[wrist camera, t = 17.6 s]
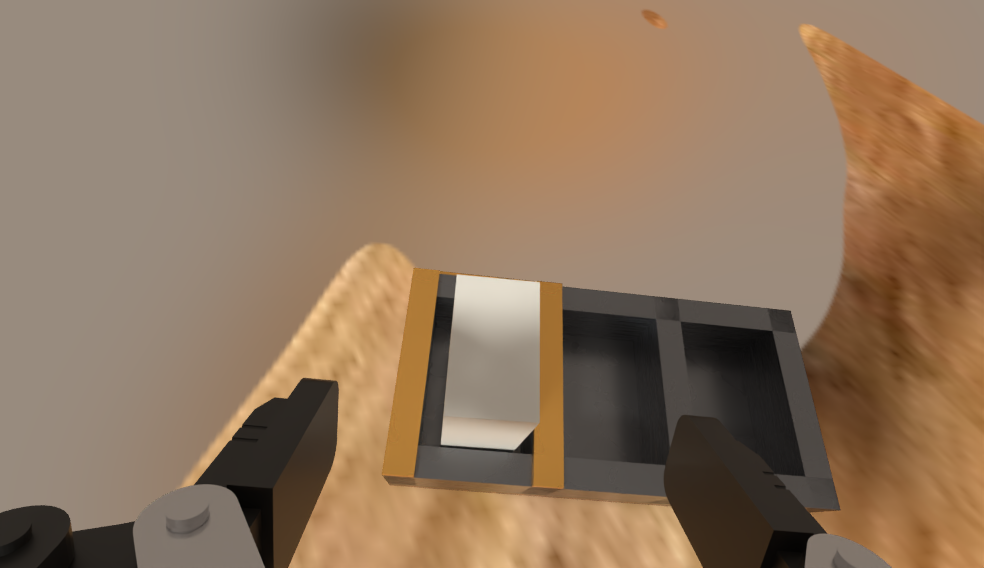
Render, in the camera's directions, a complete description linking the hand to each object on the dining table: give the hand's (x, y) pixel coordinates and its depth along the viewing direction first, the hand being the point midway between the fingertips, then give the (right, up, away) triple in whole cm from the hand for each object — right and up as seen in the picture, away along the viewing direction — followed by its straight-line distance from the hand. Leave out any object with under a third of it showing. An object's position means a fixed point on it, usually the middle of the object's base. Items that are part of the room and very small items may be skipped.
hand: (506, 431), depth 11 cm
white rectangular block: (-1, -2, +12) cm, 12 cm away
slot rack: (+5, -3, +13) cm, 14 cm away
